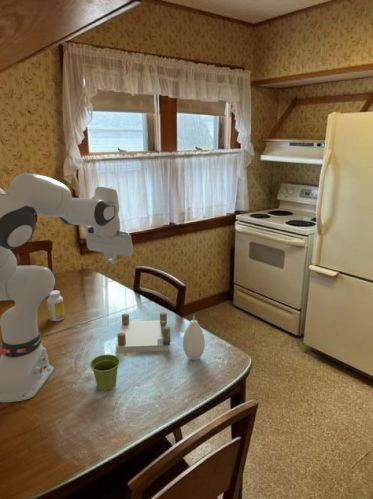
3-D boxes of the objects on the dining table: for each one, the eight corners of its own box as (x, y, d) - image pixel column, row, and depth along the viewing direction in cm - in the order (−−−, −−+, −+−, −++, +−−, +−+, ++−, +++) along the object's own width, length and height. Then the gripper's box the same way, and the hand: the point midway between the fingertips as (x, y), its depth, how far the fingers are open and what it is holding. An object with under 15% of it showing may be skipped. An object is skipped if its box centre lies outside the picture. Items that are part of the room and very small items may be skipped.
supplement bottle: (67, 315, 169) (64, 289, 165) (61, 322, 162) (58, 295, 159) (53, 314, 169) (50, 289, 166) (46, 321, 163) (43, 295, 159)
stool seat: (170, 351, 140) (169, 336, 138) (116, 353, 139) (115, 338, 137) (169, 325, 160) (168, 311, 158) (121, 326, 158) (121, 313, 156)
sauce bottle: (186, 366, 131) (186, 321, 125) (180, 354, 138) (180, 311, 133) (207, 362, 133) (207, 318, 127) (200, 351, 140) (201, 308, 135)
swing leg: (166, 329, 150) (166, 317, 149) (171, 342, 140) (170, 329, 139) (159, 330, 150) (159, 317, 148) (163, 343, 140) (163, 330, 138)
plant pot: (108, 372, 127) (107, 350, 125) (127, 383, 122) (125, 361, 119) (86, 386, 120) (84, 363, 118) (104, 398, 115) (102, 374, 112)
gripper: (135, 230, 137) (137, 265, 141) (93, 224, 147) (96, 257, 151) (125, 234, 132) (127, 270, 136) (82, 228, 141) (85, 262, 145)
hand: (110, 263), depth 143 cm, fingers closed
